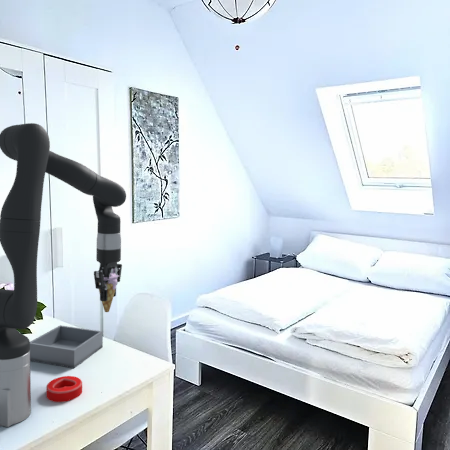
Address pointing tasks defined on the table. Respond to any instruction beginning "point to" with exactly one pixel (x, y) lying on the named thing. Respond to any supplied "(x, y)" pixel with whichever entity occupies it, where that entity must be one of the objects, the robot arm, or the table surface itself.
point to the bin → (66, 346)
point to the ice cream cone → (110, 291)
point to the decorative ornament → (64, 389)
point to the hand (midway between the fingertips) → (108, 298)
